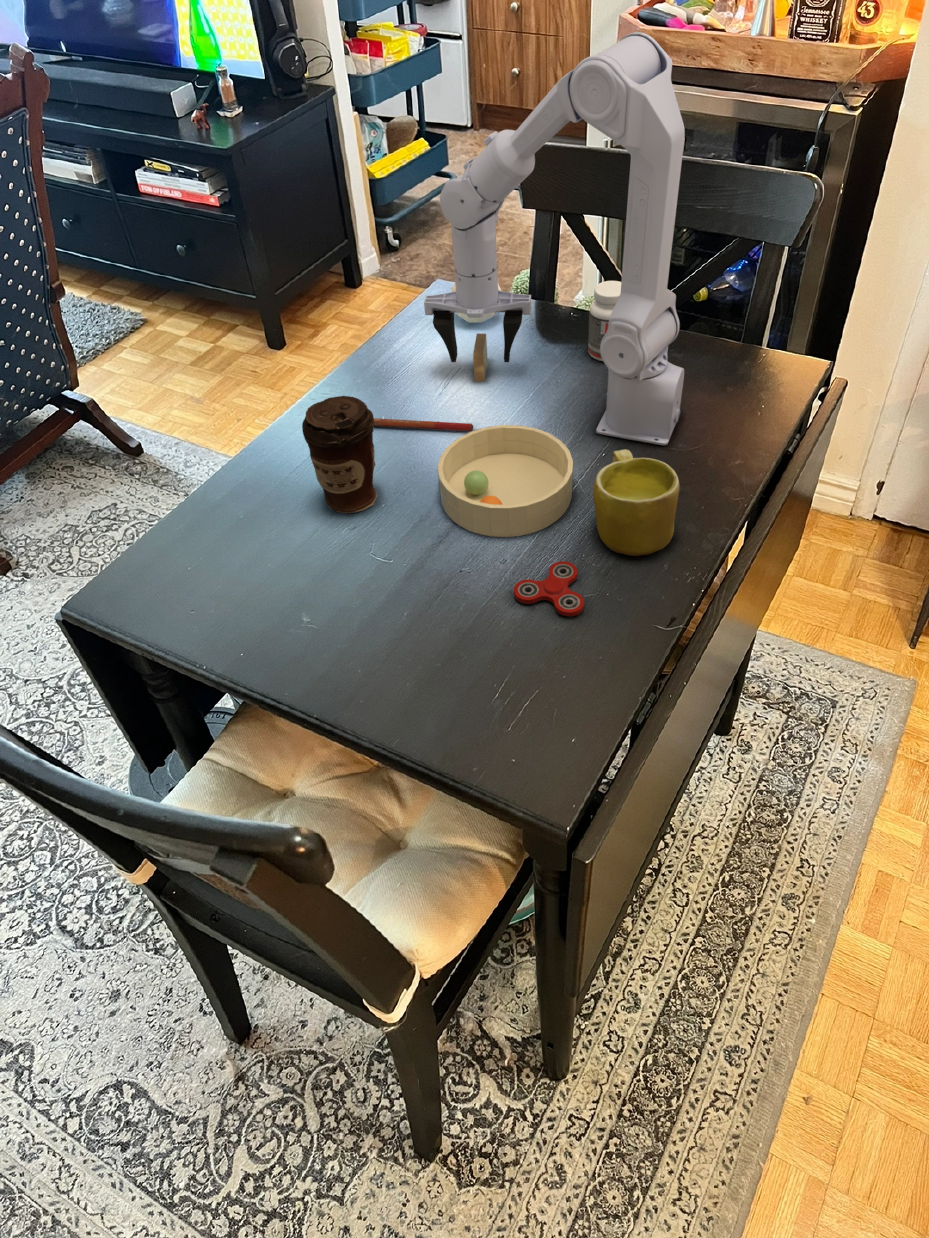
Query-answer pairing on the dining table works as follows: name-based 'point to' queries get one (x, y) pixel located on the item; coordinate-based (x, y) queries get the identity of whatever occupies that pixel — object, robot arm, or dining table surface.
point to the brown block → (480, 357)
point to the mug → (635, 504)
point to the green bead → (476, 482)
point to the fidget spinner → (553, 589)
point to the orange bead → (491, 500)
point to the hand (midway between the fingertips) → (480, 358)
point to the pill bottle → (601, 314)
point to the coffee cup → (342, 451)
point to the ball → (475, 320)
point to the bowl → (507, 480)
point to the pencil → (423, 424)
